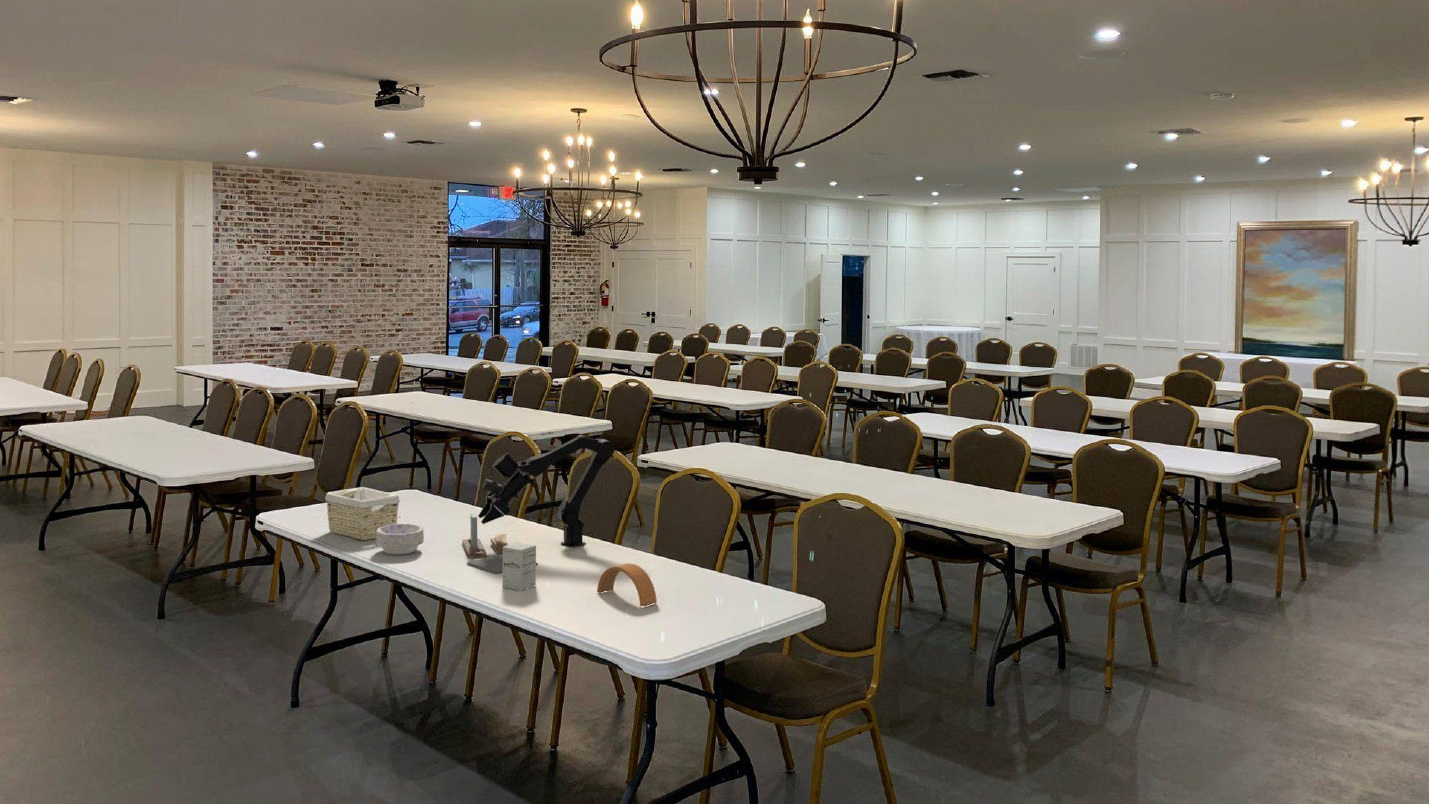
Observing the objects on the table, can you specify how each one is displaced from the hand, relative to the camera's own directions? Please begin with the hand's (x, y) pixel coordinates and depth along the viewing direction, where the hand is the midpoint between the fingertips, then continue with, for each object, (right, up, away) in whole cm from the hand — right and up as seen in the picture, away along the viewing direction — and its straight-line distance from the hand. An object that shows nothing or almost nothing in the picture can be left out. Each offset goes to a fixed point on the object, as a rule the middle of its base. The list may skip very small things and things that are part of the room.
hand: (480, 520), depth 366 cm
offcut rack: (+2, -10, +2) cm, 11 cm away
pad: (+11, -12, -18) cm, 24 cm away
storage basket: (-47, -7, +22) cm, 52 cm away
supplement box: (+21, -16, -42) cm, 49 cm away
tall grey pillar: (-2, -10, 0) cm, 11 cm away
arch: (+54, -18, -52) cm, 77 cm away
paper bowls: (-26, -10, -3) cm, 28 cm away
